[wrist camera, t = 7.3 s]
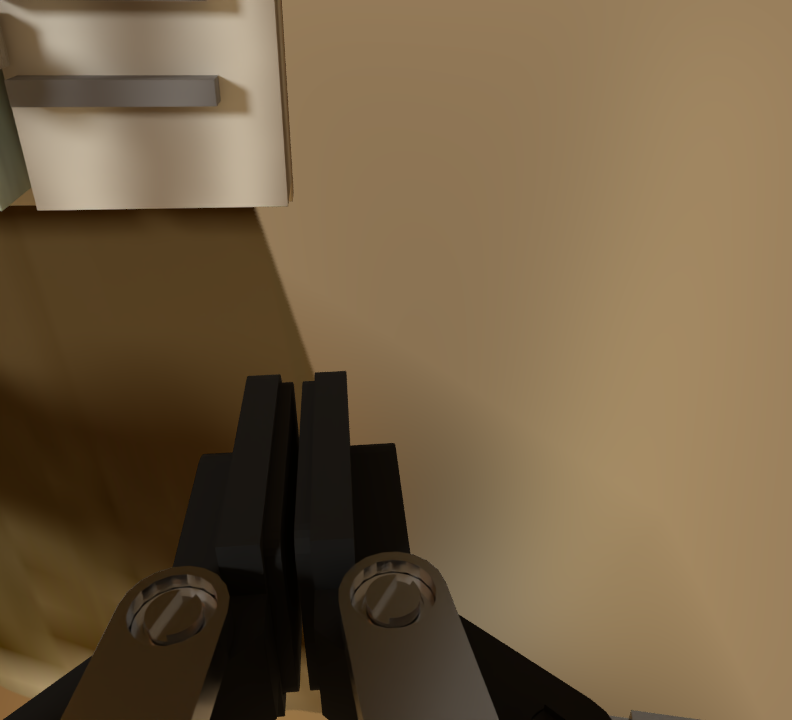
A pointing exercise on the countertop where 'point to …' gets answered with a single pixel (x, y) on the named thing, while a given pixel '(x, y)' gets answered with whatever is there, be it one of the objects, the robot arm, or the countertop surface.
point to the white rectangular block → (144, 104)
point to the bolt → (3, 52)
